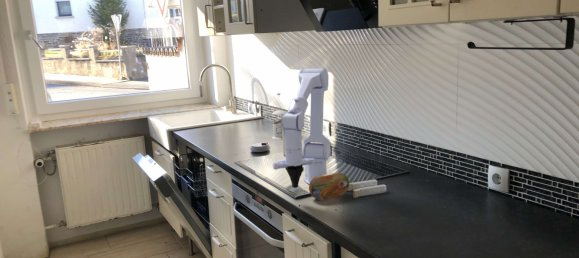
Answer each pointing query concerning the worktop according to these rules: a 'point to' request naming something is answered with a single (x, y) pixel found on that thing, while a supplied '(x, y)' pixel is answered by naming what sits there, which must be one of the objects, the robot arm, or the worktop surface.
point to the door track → (366, 188)
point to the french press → (278, 124)
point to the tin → (328, 186)
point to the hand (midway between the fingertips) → (295, 186)
